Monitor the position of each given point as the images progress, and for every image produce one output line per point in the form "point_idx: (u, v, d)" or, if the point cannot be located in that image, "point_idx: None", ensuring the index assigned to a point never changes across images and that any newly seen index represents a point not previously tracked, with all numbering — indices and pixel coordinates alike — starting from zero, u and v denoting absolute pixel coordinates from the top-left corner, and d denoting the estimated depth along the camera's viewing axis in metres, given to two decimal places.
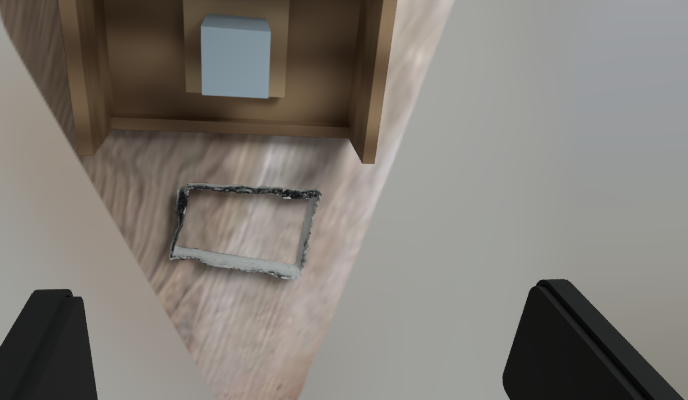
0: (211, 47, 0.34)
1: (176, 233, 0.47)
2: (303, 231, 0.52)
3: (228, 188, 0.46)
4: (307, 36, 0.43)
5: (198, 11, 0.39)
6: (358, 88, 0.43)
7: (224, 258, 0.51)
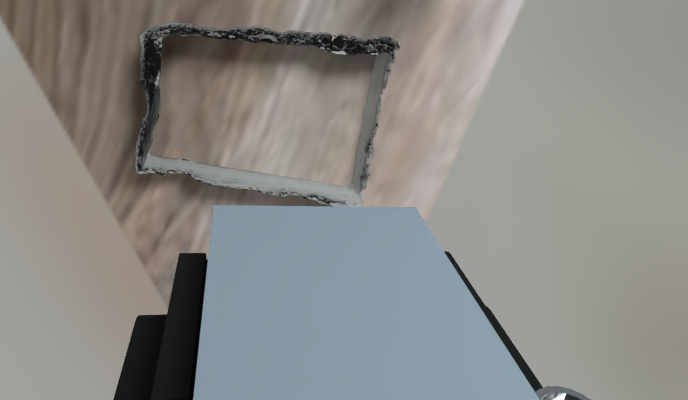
0: None
1: (145, 123, 0.27)
2: (363, 126, 0.31)
3: (234, 33, 0.25)
4: None
5: None
6: None
7: (232, 174, 0.30)
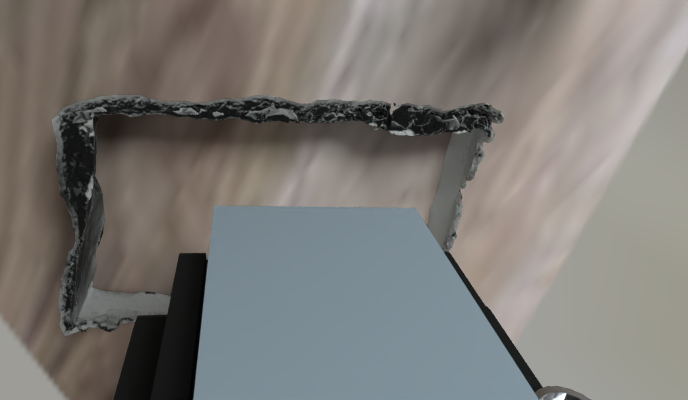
0: None
1: (74, 259, 0.16)
2: None
3: (221, 107, 0.14)
4: None
5: None
6: None
7: None
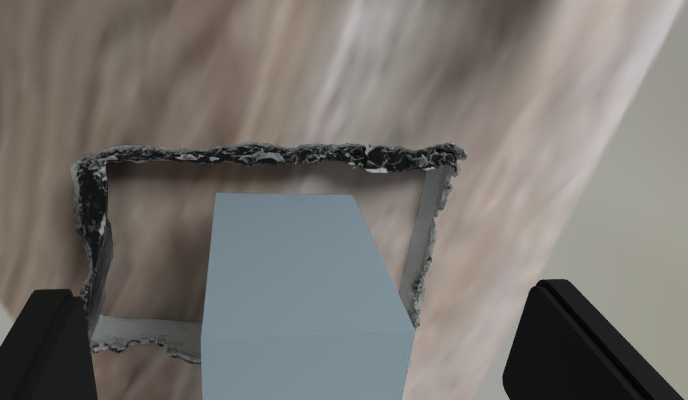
0: (233, 386, 0.11)
1: (88, 288, 0.18)
2: (408, 255, 0.22)
3: (217, 153, 0.17)
4: None
5: None
6: None
7: None
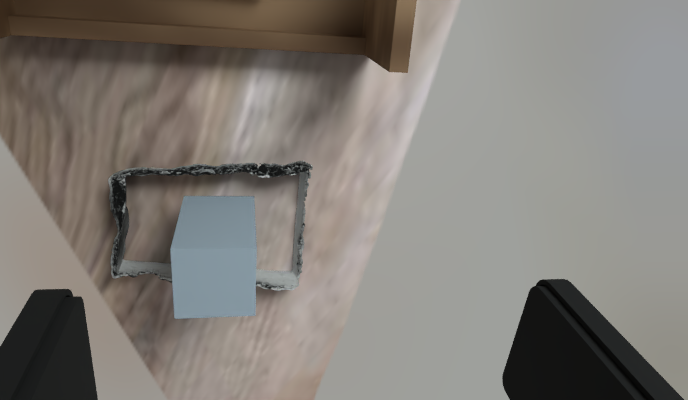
0: (184, 269, 0.28)
1: (117, 240, 0.34)
2: (295, 223, 0.38)
3: (180, 170, 0.33)
4: None
5: None
6: None
7: None
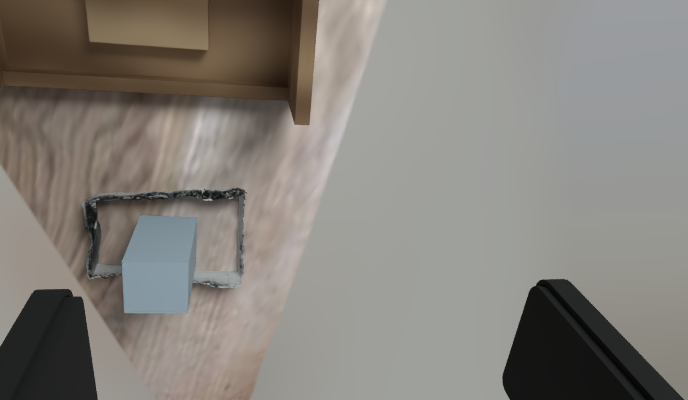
0: (132, 277, 0.36)
1: (91, 250, 0.43)
2: None
3: (139, 195, 0.42)
4: None
5: None
6: (293, 38, 0.37)
7: None
